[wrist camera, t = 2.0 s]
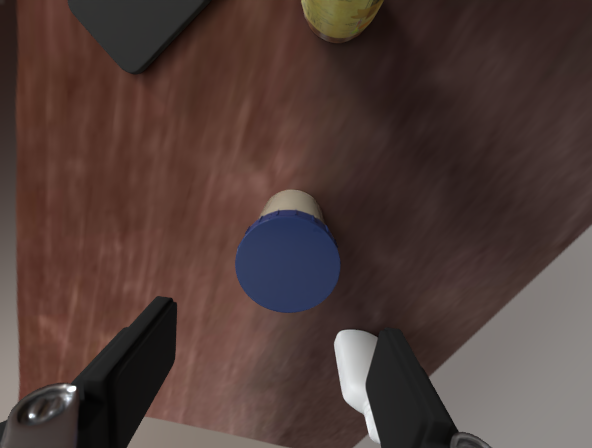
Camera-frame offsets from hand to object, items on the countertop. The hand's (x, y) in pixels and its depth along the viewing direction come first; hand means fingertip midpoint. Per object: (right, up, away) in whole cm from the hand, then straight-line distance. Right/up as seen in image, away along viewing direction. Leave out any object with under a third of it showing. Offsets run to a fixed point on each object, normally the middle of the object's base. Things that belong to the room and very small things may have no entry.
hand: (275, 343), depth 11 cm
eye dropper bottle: (+8, -9, +21) cm, 24 cm away
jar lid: (0, +2, +7) cm, 7 cm away
